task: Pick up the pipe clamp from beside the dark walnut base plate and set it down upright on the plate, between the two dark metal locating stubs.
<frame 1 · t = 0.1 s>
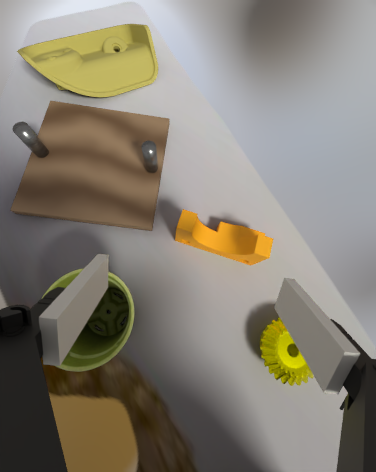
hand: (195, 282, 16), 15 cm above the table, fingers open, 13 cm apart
plastic component: (98, 75, 41), on the table
pipe clamp: (216, 240, 34), on the table
locating stubs: (99, 164, 35), resting on base plate
plant pot: (109, 311, 29), on the table
gear: (280, 344, 30), on the table
base plate: (99, 164, 35), on the table
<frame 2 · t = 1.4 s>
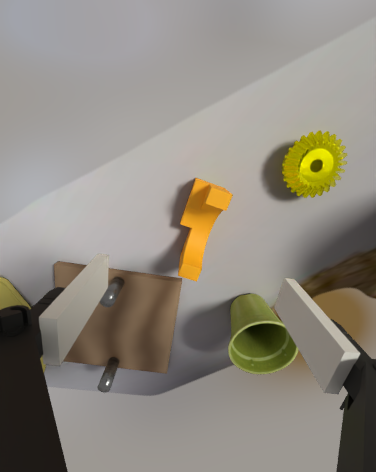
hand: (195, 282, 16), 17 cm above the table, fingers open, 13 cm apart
plastic component: (13, 325, 40), on the table
pipe clamp: (195, 221, 33), on the table
locating stubs: (118, 319, 38), resting on base plate
plant pot: (247, 307, 38), on the table
gear: (303, 165, 30), on the table
base plate: (118, 319, 38), on the table
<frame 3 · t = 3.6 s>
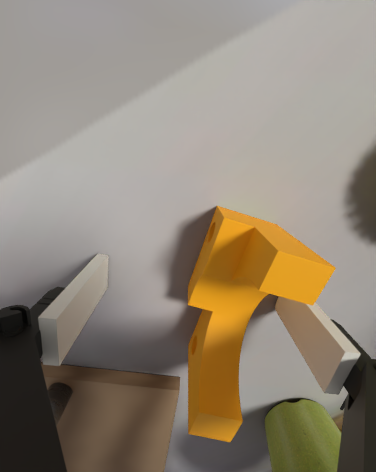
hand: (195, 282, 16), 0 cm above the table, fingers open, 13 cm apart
pipe clamp: (216, 285, 17), on the table
locating stubs: (71, 436, 22), resting on base plate
plant pot: (293, 416, 22), on the table
base plate: (71, 436, 22), on the table
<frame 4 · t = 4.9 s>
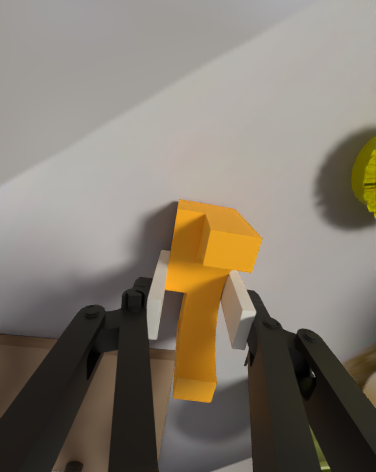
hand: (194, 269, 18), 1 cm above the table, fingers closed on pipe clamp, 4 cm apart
pipe clamp: (192, 271, 19), on the table, touching gripper
base plate: (77, 408, 25), on the table
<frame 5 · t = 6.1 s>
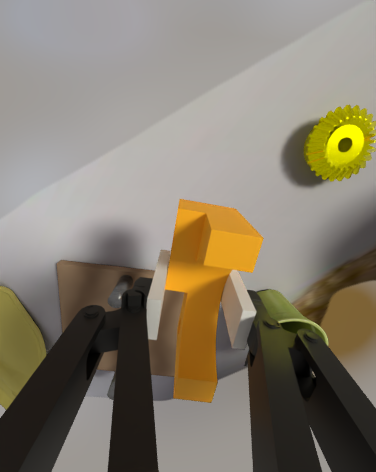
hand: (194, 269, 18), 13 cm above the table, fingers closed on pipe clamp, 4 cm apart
plastic component: (10, 335, 38), on the table
pipe clamp: (193, 271, 19), point 12 cm above the table, touching gripper
locating stubs: (126, 321, 36), resting on base plate
plant pot: (265, 304, 35), on the table
gear: (327, 146, 27), on the table
base plate: (126, 321, 36), on the table
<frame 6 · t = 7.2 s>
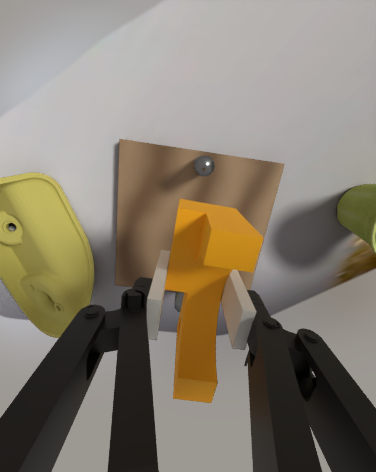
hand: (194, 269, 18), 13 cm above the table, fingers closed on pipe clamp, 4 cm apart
plastic component: (49, 249, 32), on the table
pipe clamp: (193, 271, 19), point 12 cm above the table, touching gripper
locating stubs: (191, 227, 30), resting on base plate
plant pot: (356, 207, 30), on the table
base plate: (191, 227, 30), on the table
when the fingers open (1 cm above the table, at t = 9.4 s): pipe clamp stays where it is, resting on base plate.
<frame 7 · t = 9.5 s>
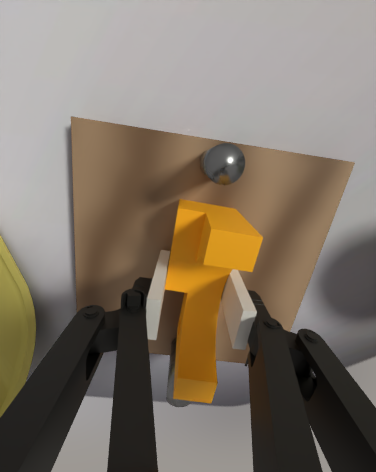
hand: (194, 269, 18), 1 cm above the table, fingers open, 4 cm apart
pipe clamp: (193, 271, 19), point 1 cm above the table, touching base plate
locating stubs: (194, 261, 19), resting on base plate
base plate: (194, 261, 19), on the table
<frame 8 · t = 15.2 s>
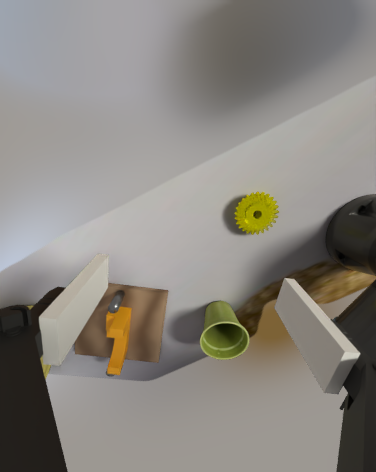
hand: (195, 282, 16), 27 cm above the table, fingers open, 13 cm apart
pipe clamp: (120, 327, 50), point 1 cm above the table, touching base plate
locating stubs: (120, 321, 50), resting on base plate
plant pot: (218, 311, 50), on the table
gear: (252, 210, 42), on the table
base plate: (120, 321, 50), on the table
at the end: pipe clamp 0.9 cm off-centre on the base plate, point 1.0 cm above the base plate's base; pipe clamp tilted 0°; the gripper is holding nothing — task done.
